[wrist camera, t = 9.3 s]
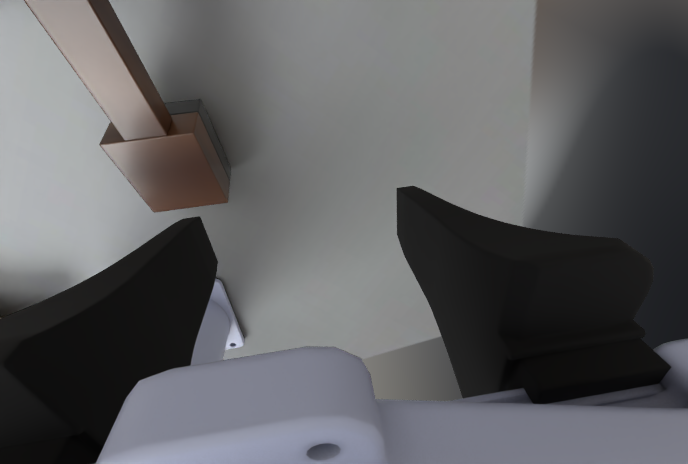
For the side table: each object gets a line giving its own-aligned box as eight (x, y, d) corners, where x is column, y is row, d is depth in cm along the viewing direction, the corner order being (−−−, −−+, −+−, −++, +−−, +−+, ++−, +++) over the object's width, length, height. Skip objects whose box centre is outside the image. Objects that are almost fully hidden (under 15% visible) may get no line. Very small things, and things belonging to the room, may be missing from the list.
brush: (231, 169, 21) (228, 203, 19) (163, 177, 21) (153, 213, 19) (38, -280, 8) (-23, -302, 7) (-140, -269, 8) (-252, -289, 6)
